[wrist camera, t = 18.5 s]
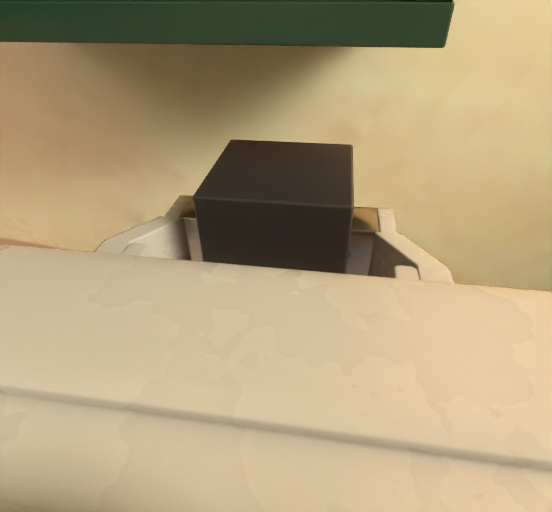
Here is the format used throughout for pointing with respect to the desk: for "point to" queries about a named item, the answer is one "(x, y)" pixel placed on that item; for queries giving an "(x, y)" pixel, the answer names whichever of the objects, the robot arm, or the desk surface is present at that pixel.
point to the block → (278, 206)
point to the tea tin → (230, 22)
